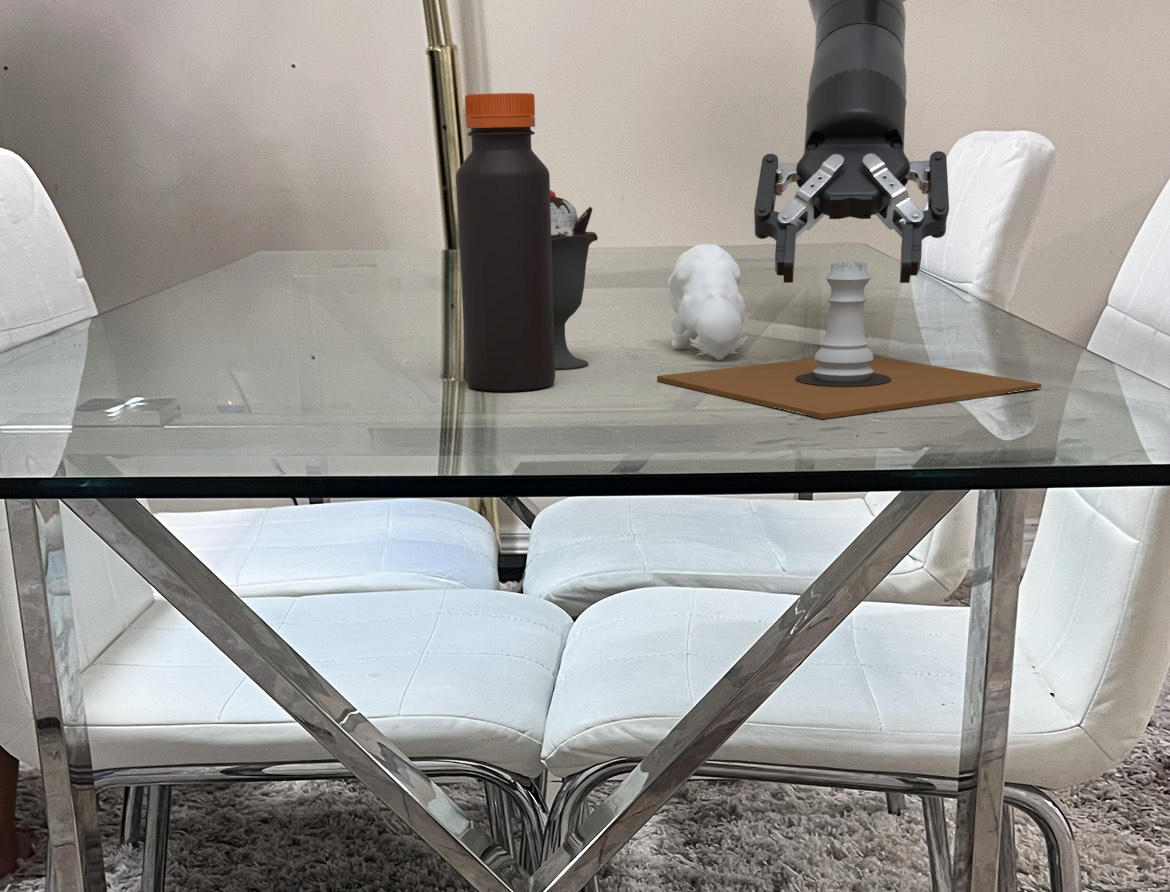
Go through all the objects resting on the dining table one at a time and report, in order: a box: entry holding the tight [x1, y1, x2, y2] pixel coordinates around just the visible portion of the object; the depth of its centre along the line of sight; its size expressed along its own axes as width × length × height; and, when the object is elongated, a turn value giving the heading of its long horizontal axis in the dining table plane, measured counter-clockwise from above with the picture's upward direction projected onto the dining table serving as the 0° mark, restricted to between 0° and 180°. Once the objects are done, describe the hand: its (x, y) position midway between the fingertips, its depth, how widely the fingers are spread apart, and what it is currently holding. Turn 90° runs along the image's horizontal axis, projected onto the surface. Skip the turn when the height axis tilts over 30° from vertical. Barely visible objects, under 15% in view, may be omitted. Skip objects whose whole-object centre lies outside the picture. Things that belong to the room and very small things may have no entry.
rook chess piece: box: [813, 261, 874, 382], centre depth 102 cm, size 4×4×8 cm
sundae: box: [550, 189, 599, 371], centre depth 113 cm, size 7×7×15 cm
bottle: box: [455, 92, 556, 393], centre depth 103 cm, size 7×7×20 cm
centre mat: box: [656, 355, 1042, 420], centre depth 104 cm, size 20×20×1 cm
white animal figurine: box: [667, 243, 748, 361], centre depth 119 cm, size 6×8×12 cm
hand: (846, 275), depth 103 cm, fingers open, 8 cm apart
